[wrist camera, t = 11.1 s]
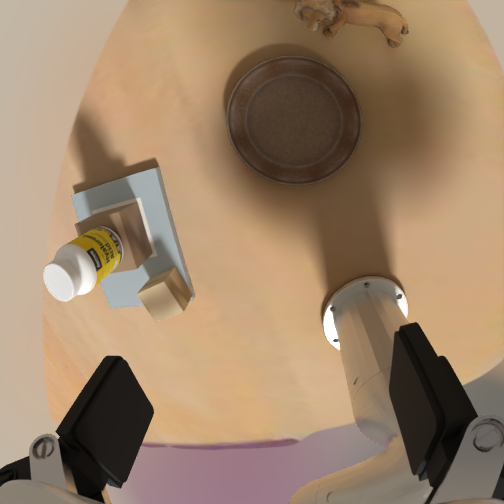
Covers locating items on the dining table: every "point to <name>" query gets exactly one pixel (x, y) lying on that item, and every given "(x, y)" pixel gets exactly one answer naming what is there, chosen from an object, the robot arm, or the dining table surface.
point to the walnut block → (123, 233)
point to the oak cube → (165, 294)
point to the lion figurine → (351, 17)
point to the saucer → (294, 120)
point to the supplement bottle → (83, 263)
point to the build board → (156, 224)
